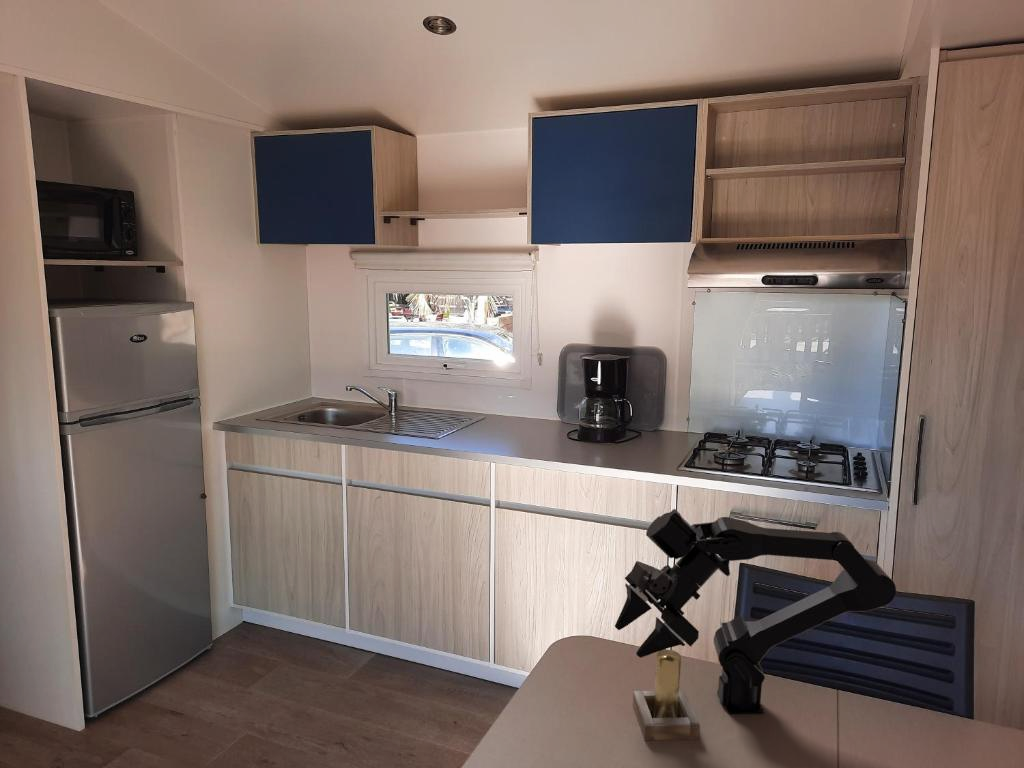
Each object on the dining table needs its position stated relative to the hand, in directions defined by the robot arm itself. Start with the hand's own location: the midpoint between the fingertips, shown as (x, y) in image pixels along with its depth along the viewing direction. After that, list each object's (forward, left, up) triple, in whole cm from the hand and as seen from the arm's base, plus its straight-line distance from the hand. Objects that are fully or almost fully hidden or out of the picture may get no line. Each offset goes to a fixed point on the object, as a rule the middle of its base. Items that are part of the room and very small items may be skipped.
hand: (626, 641), depth 126 cm
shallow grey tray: (-6, +4, -13) cm, 15 cm away
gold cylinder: (-6, +4, -13) cm, 15 cm away
